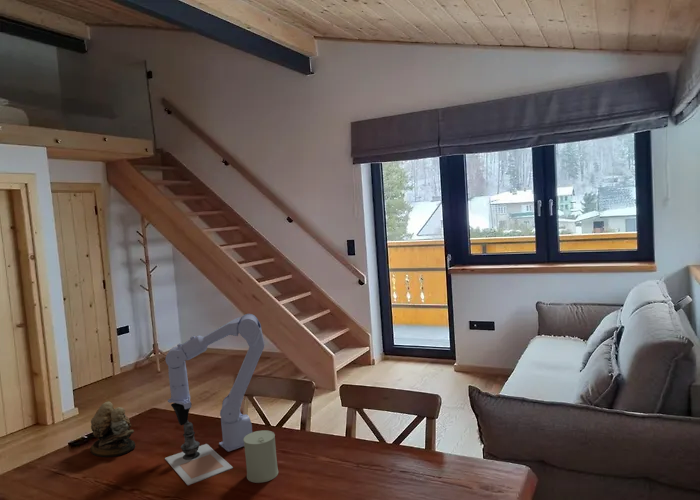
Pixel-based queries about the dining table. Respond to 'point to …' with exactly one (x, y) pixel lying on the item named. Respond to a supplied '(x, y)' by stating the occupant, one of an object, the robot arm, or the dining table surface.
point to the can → (260, 456)
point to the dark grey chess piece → (190, 442)
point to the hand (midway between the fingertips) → (183, 424)
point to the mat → (198, 465)
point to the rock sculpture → (111, 432)
